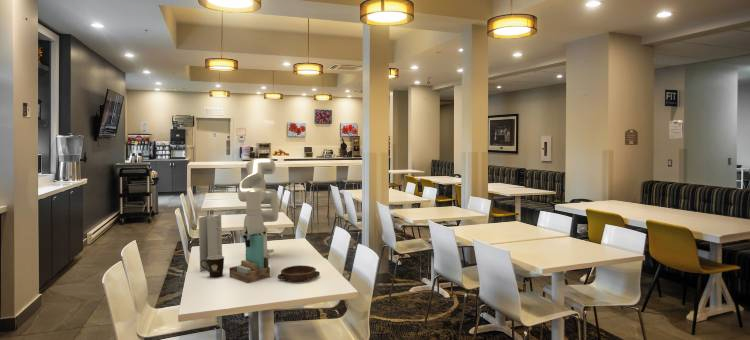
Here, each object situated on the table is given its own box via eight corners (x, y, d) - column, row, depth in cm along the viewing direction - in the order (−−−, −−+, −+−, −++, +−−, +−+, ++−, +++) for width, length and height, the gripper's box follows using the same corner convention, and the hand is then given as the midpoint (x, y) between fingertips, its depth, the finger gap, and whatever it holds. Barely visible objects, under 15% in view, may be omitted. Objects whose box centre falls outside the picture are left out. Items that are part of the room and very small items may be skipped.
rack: (252, 271, 259) (251, 253, 258) (270, 276, 248) (269, 258, 247) (229, 276, 248) (229, 258, 248) (247, 282, 237) (247, 263, 237)
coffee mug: (228, 274, 253) (227, 256, 252) (217, 278, 245) (217, 260, 244) (210, 272, 257) (209, 254, 256) (199, 276, 249) (199, 258, 248)
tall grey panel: (209, 272, 258) (207, 218, 256) (199, 271, 259) (198, 217, 257) (222, 265, 271) (221, 214, 270) (213, 265, 273) (212, 214, 271)
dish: (275, 276, 250) (275, 267, 249) (315, 272, 257) (315, 263, 257) (279, 285, 233) (279, 276, 233) (323, 281, 240) (322, 271, 240)
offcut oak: (244, 274, 253) (244, 260, 252) (257, 278, 245) (257, 263, 244) (241, 275, 251) (241, 260, 251) (254, 279, 243) (254, 264, 243)
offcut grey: (240, 276, 250) (240, 265, 249) (251, 280, 243) (251, 268, 243) (237, 277, 248) (236, 266, 248) (248, 280, 241) (247, 269, 241)
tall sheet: (251, 273, 256) (250, 233, 254) (264, 277, 248) (263, 236, 246) (246, 274, 253) (245, 234, 252) (259, 278, 246) (258, 236, 244)
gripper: (263, 210, 258) (263, 241, 259) (235, 214, 244) (236, 247, 245) (271, 211, 253) (272, 243, 254) (243, 215, 240) (244, 249, 241)
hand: (254, 245), depth 250 cm, fingers open, 7 cm apart
